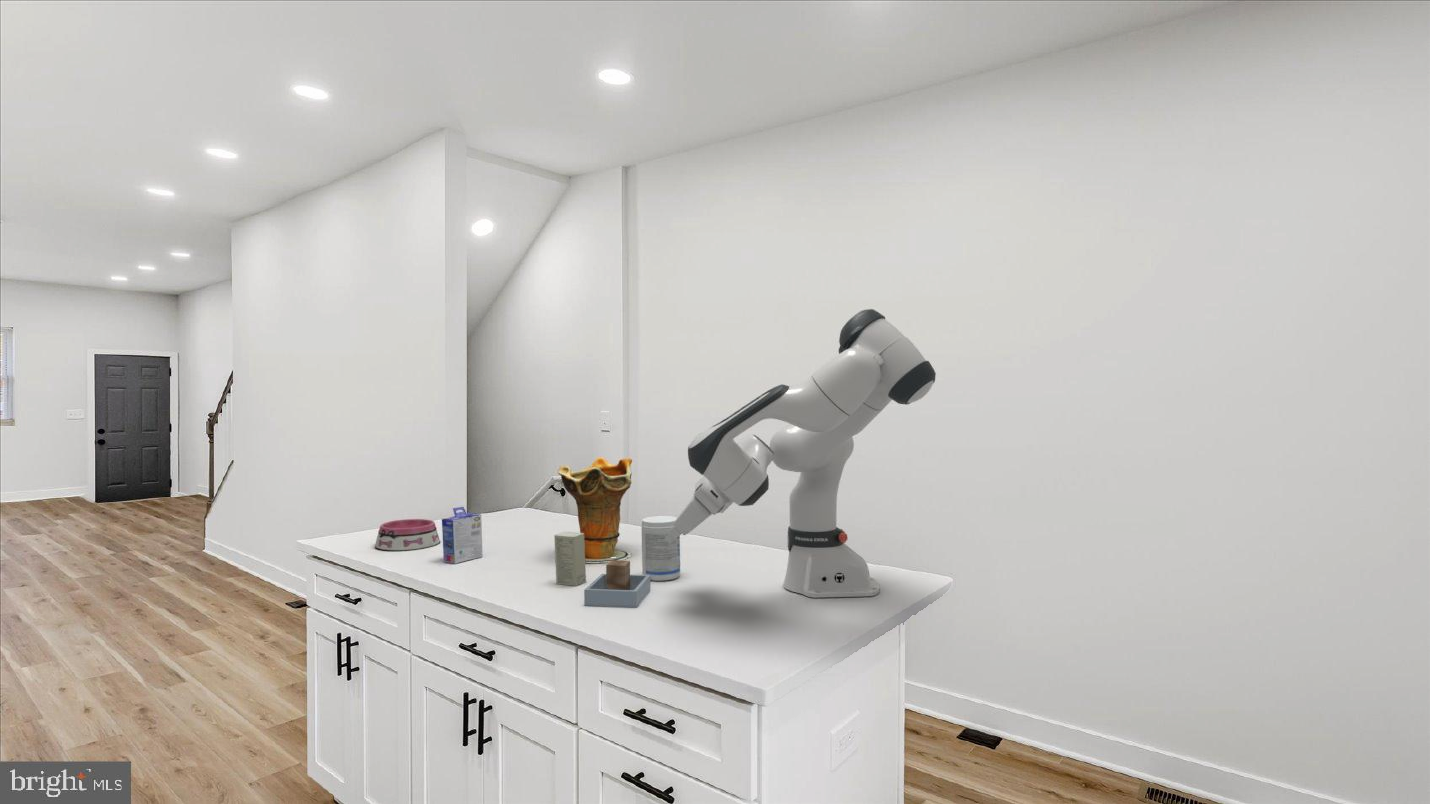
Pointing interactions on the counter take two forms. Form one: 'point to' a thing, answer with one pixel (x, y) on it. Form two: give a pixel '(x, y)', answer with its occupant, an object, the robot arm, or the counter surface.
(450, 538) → the ink cartridge box
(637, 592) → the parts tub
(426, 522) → the dog bowl
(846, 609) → the counter surface
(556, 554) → the skincare box
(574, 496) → the decorative vase
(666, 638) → the counter surface
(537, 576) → the counter surface
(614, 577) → the walnut block
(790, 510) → the robot arm
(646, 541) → the supplement tub
